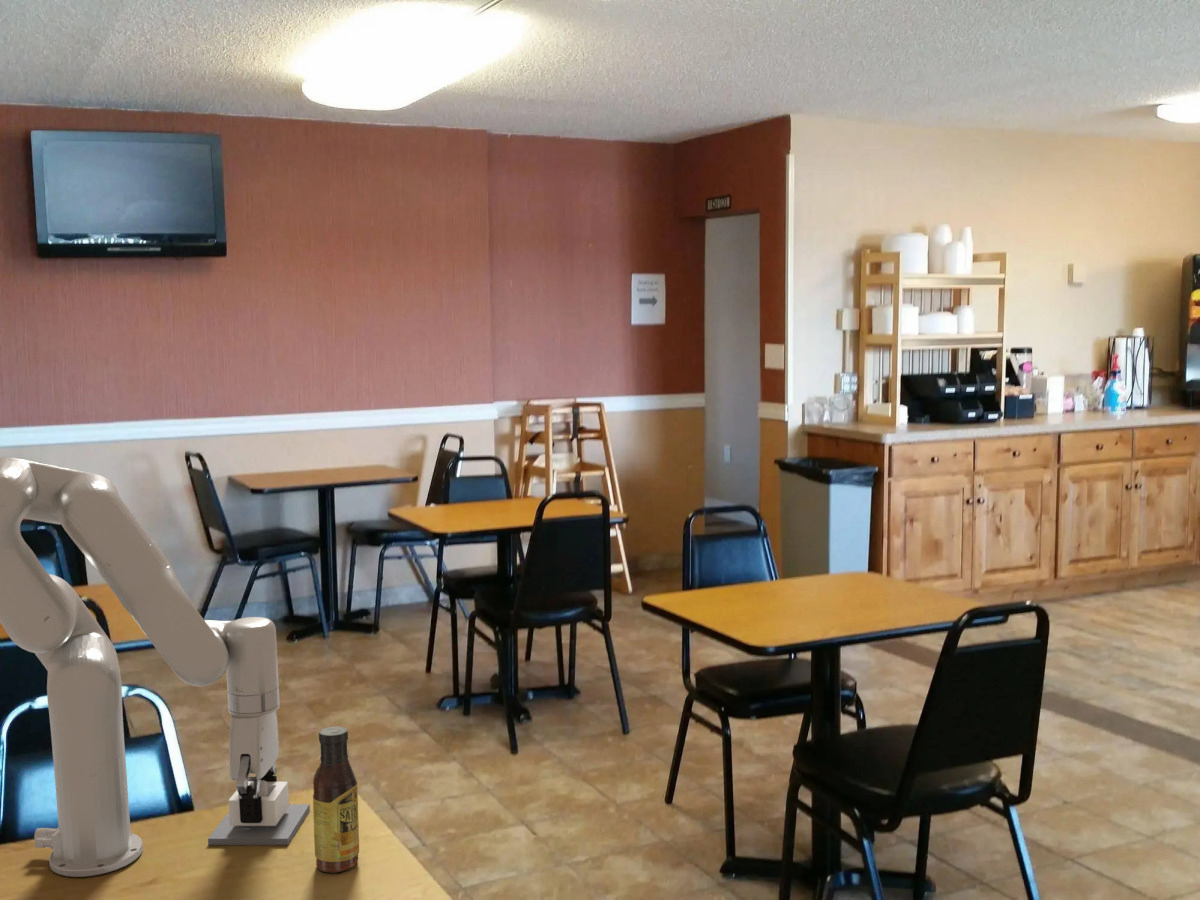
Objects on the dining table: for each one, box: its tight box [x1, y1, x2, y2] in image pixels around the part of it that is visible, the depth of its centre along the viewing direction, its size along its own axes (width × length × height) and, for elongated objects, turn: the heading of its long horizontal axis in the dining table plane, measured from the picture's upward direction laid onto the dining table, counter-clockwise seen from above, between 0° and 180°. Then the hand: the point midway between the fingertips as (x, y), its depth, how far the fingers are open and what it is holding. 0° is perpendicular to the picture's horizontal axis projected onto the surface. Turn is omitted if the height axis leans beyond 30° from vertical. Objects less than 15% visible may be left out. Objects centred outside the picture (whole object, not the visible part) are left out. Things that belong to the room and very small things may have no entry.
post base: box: [207, 780, 311, 846], centre depth 182 cm, size 12×12×7 cm
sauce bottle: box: [312, 725, 360, 874], centre depth 169 cm, size 7×6×20 cm
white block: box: [228, 781, 290, 826], centre depth 182 cm, size 7×7×4 cm
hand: (259, 810), depth 182 cm, fingers closed on white block, 6 cm apart
